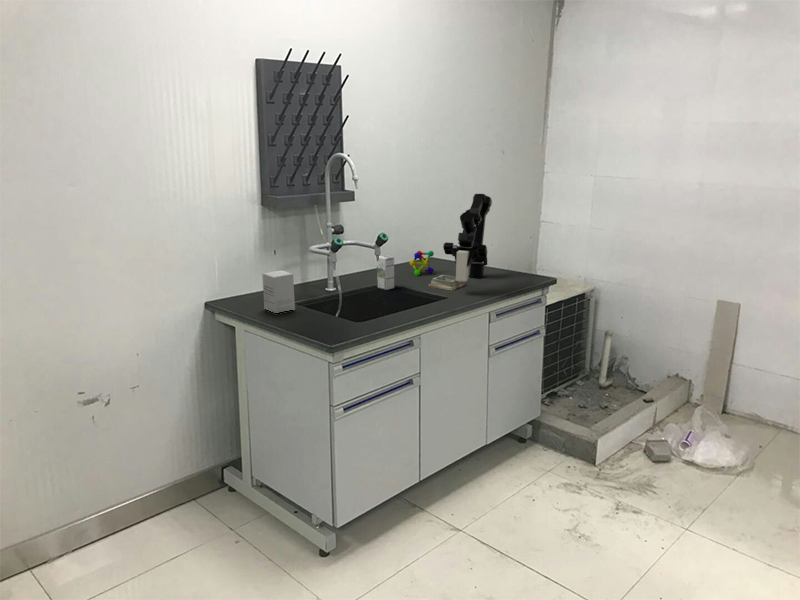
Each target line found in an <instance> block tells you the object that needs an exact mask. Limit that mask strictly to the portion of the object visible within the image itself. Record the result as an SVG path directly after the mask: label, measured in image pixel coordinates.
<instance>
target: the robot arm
mask: <svg viewBox="0 0 800 600" xmlns="http://www.w3.org/2000/svg"><path fill="white" fill-rule="evenodd" d="M492 205H493V200H492V198H491V197H490V196H489V195H486V194H485V193H475V194H474V195H473V196H472V203H471V205H470V208H469V209H466V210H465V212H462V213H461V214H460V216H459V221H460V224H461V228H462V232H458V237H457V241H458V243H457V244H458V245H459V246H458V245H457V244H454V242H447V241H446V242H444V243H443V247H442V248H443V251H444V254H445V255H451V257H452V256H453V257H454V262H455V264H456V257H457V252H458V251H459V250H461V251H469V258H468V262H467V267H468V266H469V267H470V268H469V274H468V278H472V279H476V280H477V279H482V278H486V277H487V276H486V275H485V274H484V273H485V271H484V269H485V266H488V247H487V245H486V244H483V243H484V237H485V236H484V235H485V227H486V226H485V225H486V218H487V215H488V213H489V212H490V210H491V207H492Z"/></svg>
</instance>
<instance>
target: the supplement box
mask: <svg viewBox="0 0 800 600" xmlns="http://www.w3.org/2000/svg"><path fill="white" fill-rule="evenodd" d="M261 274H262V288H263V291H262V292H263V304H264V305H263V306H264V310H265V309H266V310H269V311H271V312H274V313H279V312H283V311H289V310H293V311H295V310H296V303H295V287H294V286H295V285H294V273H291V272H288V271H285V270H282V269H281V270H275V271H270V272H264V273H263V272H262V273H261ZM266 310H265V311H266ZM269 311H268V312H269ZM271 312H270V313H271ZM289 312H290V311H289ZM274 313H273V314H274Z"/></svg>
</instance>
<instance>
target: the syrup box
mask: <svg viewBox="0 0 800 600" xmlns="http://www.w3.org/2000/svg"><path fill="white" fill-rule="evenodd" d="M376 283H377V284H376V286H377V287H376V288H378V289H381V290H385V291H386V290H387V291H388V290H391V289H395V256H393V255H391V256H390V255H387V254H384V255H379V260H378V261H377V260H376Z"/></svg>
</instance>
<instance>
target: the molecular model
mask: <svg viewBox="0 0 800 600" xmlns="http://www.w3.org/2000/svg"><path fill="white" fill-rule="evenodd" d="M434 254H435V253H434V251H433V250H429V251H428V252H422V251H421V250H418V251H416V252H415V253H414V256H413V257H414V258H413V259H411V260H410V261H409V265H410V266H411V267H412V268H413V269H414V272H413V274H414V276H416V277H418V276H420V274H421V273H422V272H426V273H428V274H433V273H434V268H433V267H431V265H430V264H429V262H430V261H429V259H430V258H431V257H433V256H434ZM425 255H427V257H424V256H425ZM417 259H419V260H420V261H417ZM417 265H421V266H419V267H418V266H417ZM424 267H426V268H427V269H423V268H424Z"/></svg>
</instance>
